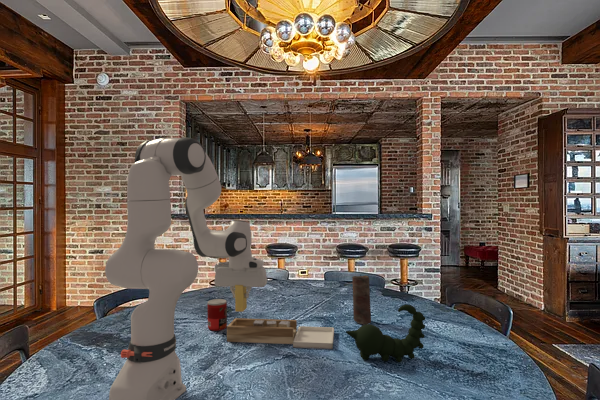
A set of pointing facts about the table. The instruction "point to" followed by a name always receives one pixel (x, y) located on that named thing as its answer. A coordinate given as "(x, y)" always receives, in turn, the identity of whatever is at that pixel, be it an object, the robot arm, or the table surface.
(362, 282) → the brown tall block
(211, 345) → the table surface
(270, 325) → the grey piece
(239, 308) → the block
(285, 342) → the open wooden box
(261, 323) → the grey cubic block
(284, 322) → the grey and brown cube
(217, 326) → the canned food
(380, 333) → the toy figurine
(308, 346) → the tray
